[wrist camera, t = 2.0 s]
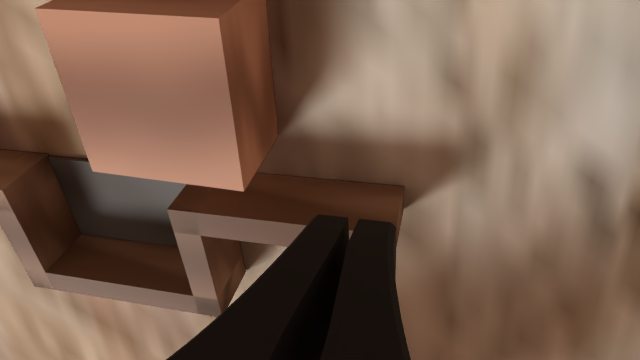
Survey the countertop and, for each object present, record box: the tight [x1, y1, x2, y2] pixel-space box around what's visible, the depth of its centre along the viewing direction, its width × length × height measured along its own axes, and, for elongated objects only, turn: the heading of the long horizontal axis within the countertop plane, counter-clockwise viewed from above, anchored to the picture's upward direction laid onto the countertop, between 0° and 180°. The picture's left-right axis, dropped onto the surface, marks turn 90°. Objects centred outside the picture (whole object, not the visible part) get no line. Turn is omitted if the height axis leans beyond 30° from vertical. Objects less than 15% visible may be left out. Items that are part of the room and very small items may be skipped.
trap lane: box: [0, 149, 404, 317], centre depth 20 cm, size 22×29×4 cm
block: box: [35, 0, 278, 192], centre depth 18 cm, size 6×6×4 cm
